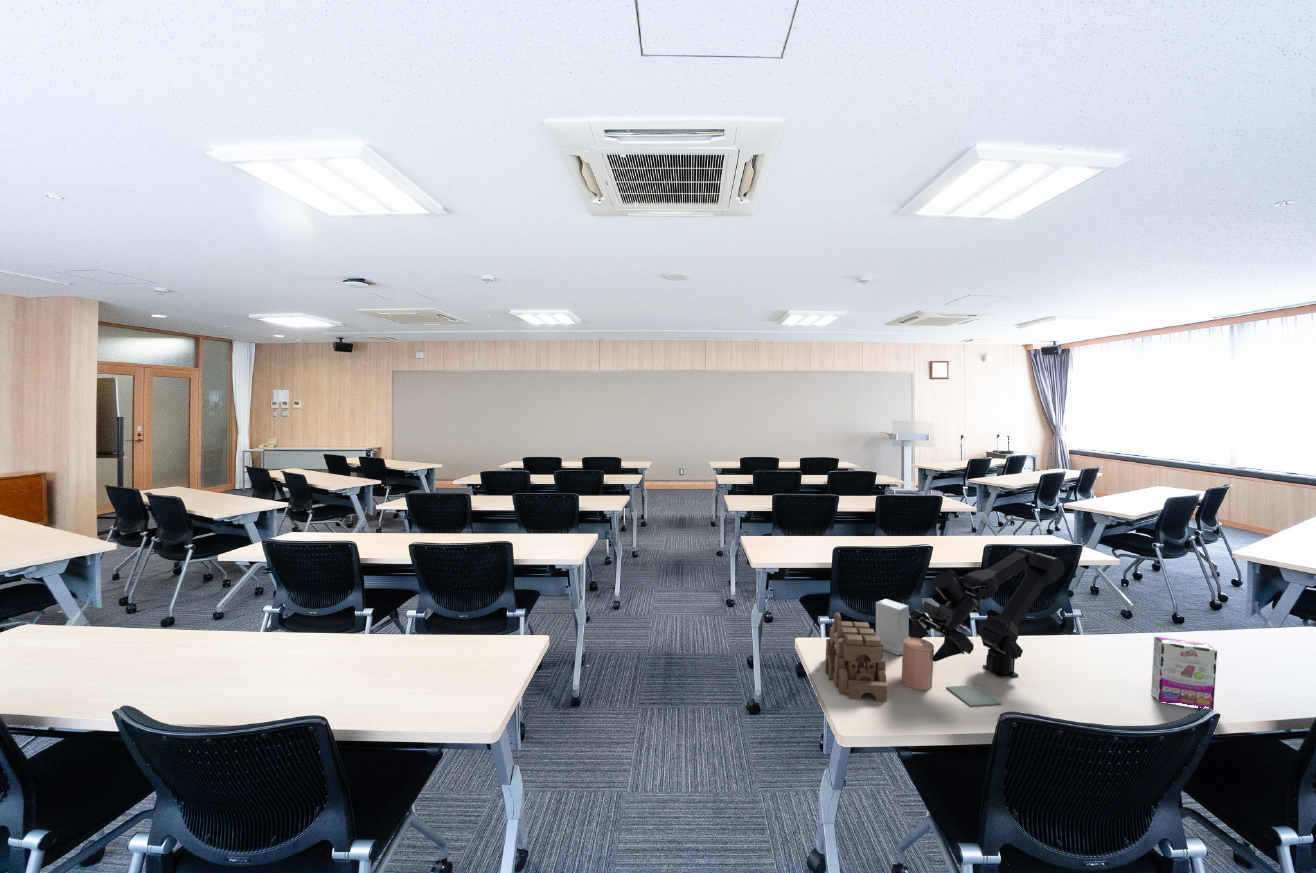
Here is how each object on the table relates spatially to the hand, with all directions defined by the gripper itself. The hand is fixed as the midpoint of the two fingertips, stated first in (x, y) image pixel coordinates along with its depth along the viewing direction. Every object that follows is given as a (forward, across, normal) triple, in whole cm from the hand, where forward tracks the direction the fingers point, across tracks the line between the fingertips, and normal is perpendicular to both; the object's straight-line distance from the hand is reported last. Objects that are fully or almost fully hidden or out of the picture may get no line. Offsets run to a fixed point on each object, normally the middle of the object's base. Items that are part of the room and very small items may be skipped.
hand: (920, 652), depth 146 cm
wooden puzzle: (+18, -6, -6) cm, 20 cm away
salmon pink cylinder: (+7, 0, +5) cm, 9 cm away
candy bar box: (-38, +24, +50) cm, 67 cm away
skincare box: (+2, -19, +11) cm, 22 cm away
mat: (0, +9, +12) cm, 15 cm away
